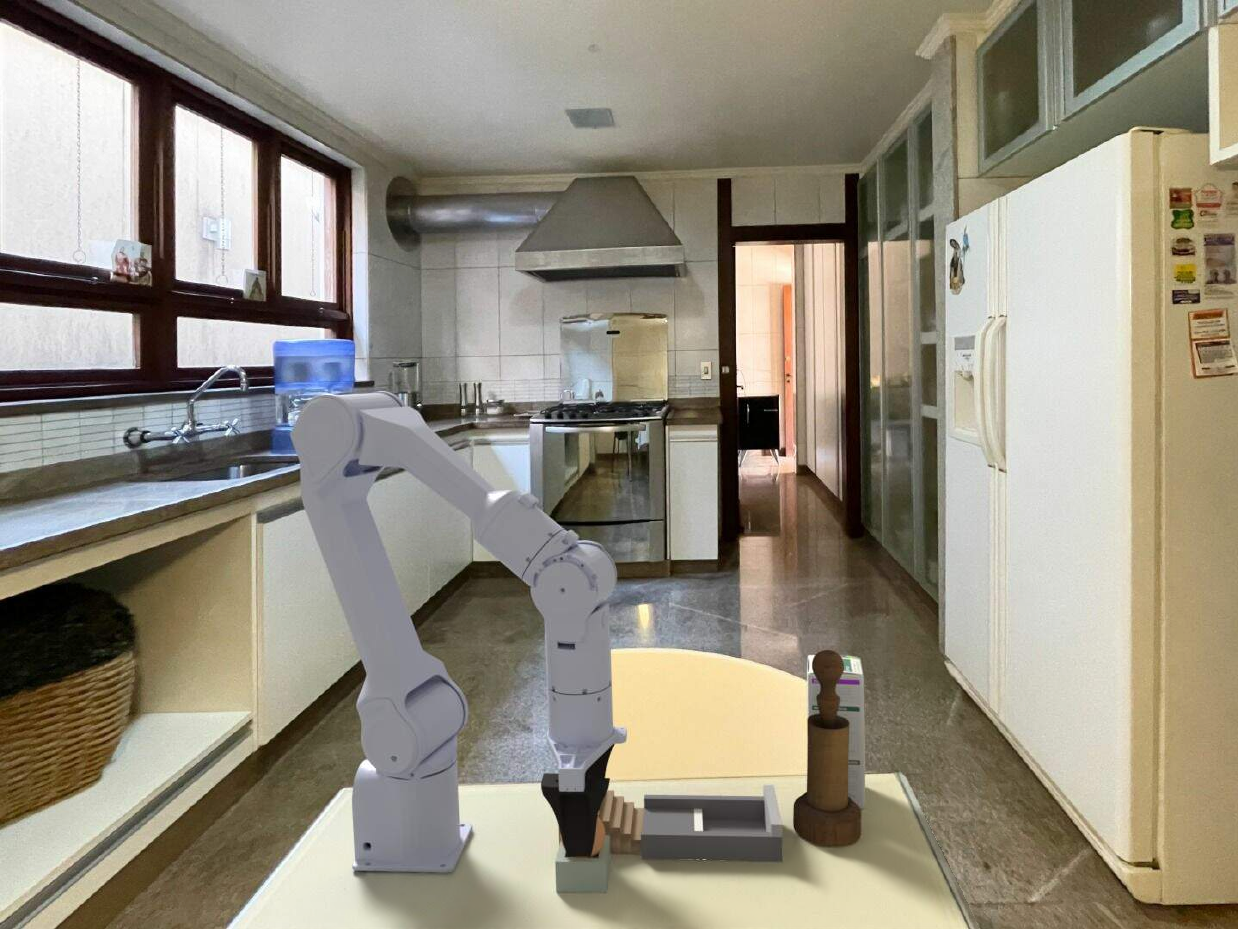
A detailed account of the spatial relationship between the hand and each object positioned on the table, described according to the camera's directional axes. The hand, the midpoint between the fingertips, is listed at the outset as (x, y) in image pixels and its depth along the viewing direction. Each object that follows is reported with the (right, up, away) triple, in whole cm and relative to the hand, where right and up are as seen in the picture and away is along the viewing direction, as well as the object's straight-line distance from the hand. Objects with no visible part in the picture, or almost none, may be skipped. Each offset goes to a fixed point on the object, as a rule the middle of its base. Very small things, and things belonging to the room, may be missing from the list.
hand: (584, 830), depth 77 cm
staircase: (+2, -4, +7) cm, 8 cm away
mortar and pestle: (+24, -3, +8) cm, 25 cm away
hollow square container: (0, -4, +1) cm, 5 cm away
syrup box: (+26, -3, +15) cm, 30 cm away
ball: (0, 0, 0) cm, 0 cm away
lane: (+11, -4, +7) cm, 14 cm away
